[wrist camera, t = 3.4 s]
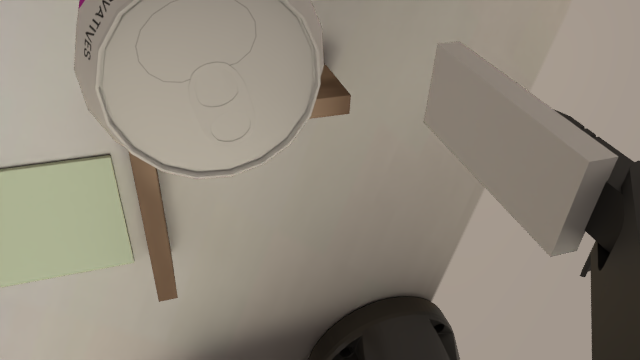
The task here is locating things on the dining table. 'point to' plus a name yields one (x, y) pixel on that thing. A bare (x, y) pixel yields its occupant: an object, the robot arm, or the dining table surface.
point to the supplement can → (200, 78)
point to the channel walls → (146, 179)
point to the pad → (60, 220)
